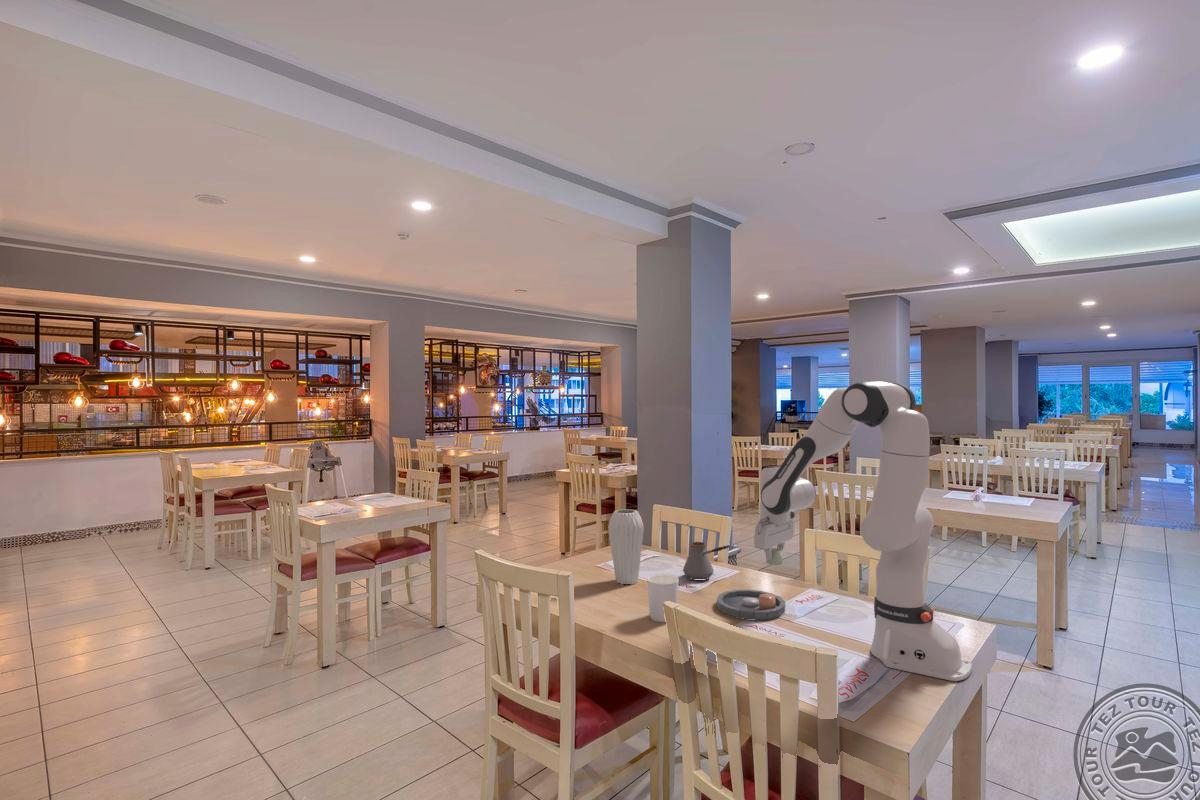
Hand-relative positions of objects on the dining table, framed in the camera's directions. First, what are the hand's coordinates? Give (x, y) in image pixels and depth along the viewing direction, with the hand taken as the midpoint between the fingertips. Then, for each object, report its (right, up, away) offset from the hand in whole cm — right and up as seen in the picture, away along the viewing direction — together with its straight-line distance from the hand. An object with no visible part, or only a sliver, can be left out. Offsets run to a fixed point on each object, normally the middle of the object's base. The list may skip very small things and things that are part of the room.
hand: (774, 557), depth 183 cm
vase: (-46, -17, +29) cm, 57 cm away
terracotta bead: (-4, -15, -4) cm, 16 cm away
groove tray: (-8, -16, 0) cm, 18 cm away
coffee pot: (-16, -17, +29) cm, 37 cm away
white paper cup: (-37, -17, -7) cm, 41 cm away
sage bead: (0, -2, 0) cm, 2 cm away
